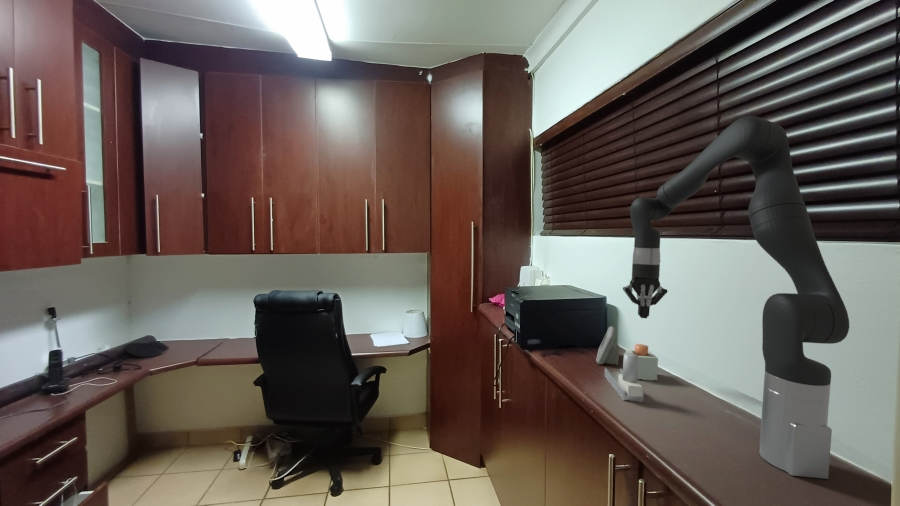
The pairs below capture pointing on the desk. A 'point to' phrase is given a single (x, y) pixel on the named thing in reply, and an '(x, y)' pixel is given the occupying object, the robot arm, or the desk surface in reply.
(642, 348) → the button
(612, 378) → the rail
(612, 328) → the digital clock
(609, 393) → the desk surface
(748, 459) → the desk surface
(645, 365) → the button housing
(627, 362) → the carriage
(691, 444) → the desk surface
